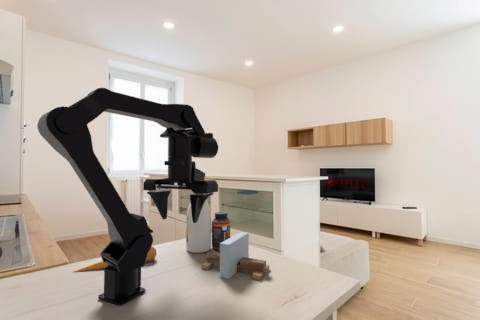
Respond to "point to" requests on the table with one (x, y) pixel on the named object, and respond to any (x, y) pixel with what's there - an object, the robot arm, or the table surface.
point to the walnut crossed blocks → (240, 265)
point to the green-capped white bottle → (199, 230)
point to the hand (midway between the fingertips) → (179, 220)
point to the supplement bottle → (220, 229)
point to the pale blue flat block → (233, 253)
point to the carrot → (101, 264)
